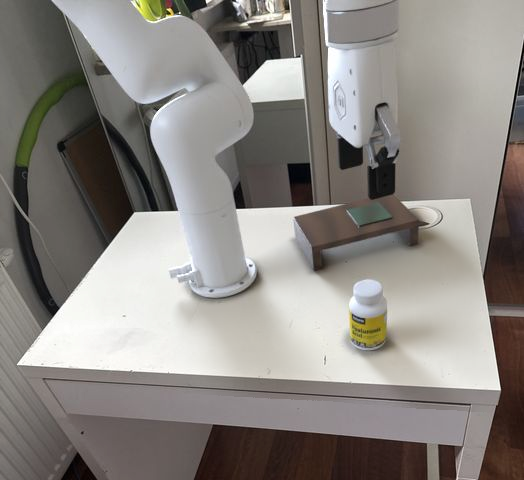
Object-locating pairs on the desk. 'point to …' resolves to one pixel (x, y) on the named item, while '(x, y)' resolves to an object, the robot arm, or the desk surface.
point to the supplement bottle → (368, 315)
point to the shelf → (353, 225)
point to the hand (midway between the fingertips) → (365, 180)
